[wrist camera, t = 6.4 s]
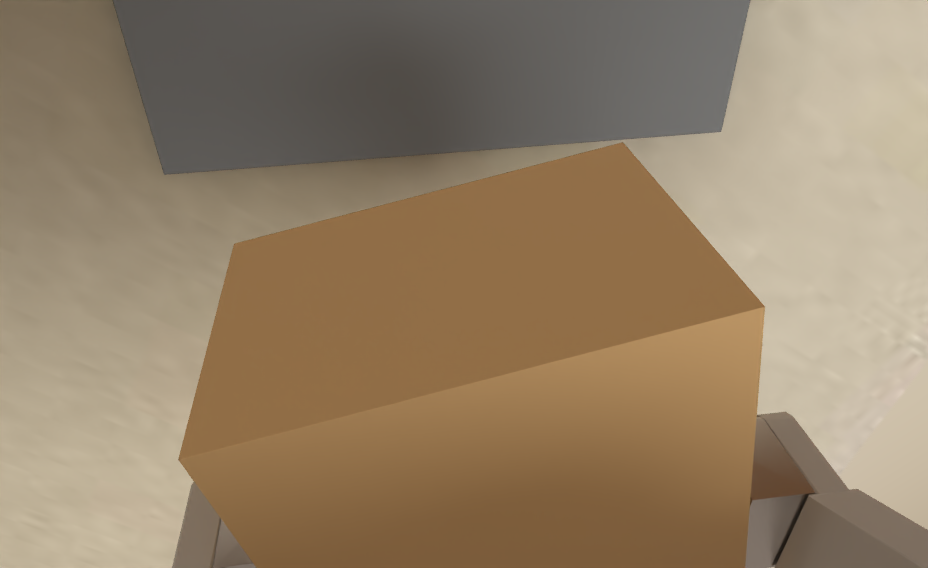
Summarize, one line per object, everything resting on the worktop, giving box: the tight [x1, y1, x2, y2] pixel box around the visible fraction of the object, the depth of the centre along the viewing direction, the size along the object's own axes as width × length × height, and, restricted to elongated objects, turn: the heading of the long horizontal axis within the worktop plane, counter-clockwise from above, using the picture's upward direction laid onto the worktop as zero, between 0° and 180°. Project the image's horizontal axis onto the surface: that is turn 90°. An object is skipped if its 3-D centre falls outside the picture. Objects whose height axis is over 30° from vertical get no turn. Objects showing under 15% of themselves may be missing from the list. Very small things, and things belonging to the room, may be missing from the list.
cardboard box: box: [178, 142, 765, 568], centre depth 11 cm, size 9×6×4 cm, turn 12°
